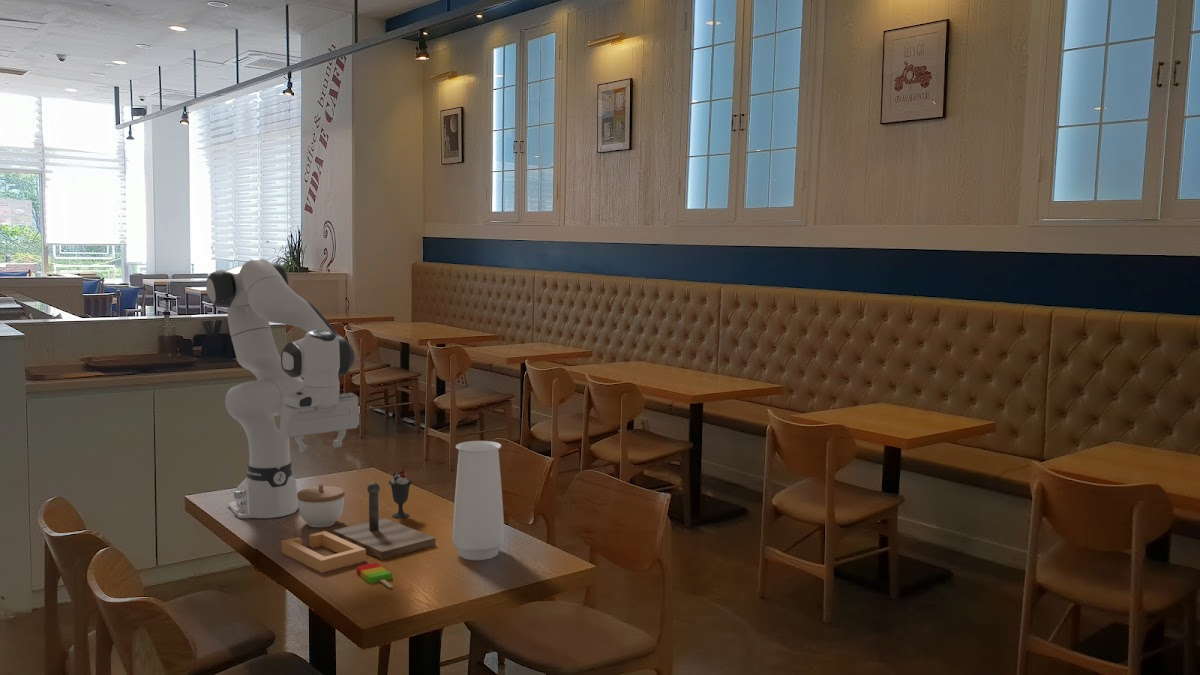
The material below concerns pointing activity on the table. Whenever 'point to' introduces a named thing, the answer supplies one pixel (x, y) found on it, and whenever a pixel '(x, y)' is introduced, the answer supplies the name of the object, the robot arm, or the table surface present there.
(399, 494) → the sundae
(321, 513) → the lidded bowl
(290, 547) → the link
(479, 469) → the vase
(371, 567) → the popsicle
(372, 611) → the table surface
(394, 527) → the stand
